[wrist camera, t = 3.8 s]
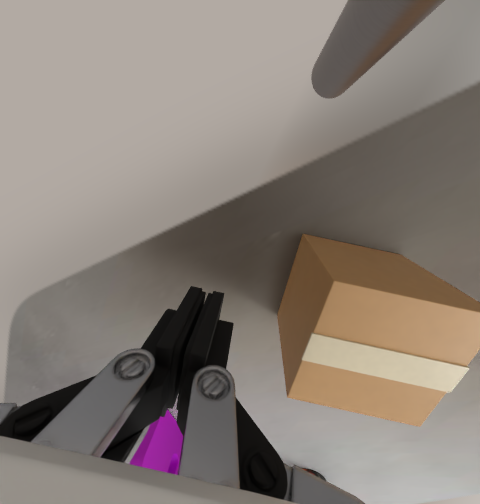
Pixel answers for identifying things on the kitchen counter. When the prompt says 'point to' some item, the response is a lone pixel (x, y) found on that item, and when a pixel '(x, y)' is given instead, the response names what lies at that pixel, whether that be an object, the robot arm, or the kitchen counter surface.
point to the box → (373, 332)
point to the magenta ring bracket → (160, 446)
